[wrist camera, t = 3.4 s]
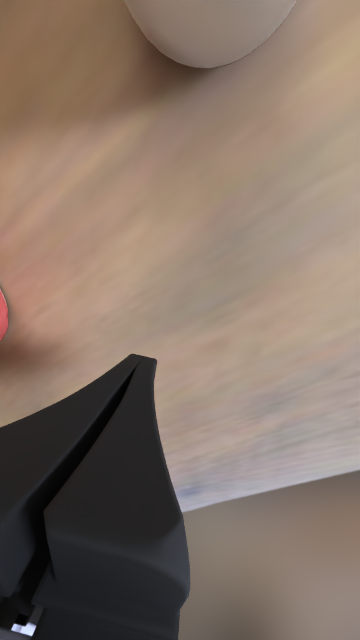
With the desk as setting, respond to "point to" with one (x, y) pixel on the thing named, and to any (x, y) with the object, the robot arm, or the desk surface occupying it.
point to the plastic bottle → (208, 27)
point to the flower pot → (3, 316)
